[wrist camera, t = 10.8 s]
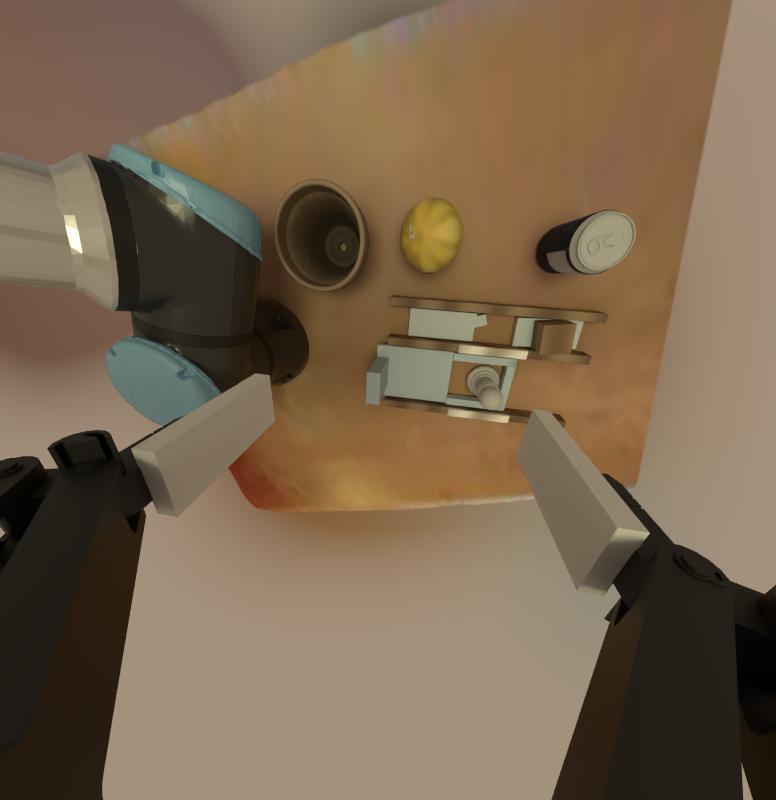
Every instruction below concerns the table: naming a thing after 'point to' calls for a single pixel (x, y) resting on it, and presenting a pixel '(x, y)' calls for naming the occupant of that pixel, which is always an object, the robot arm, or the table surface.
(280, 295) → the table surface
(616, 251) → the beverage can
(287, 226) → the flower pot
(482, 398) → the chess piece
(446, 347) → the lane rails
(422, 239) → the hamburger
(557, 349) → the walnut cube
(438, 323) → the broken strip
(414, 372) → the pale grey slab
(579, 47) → the table surface
